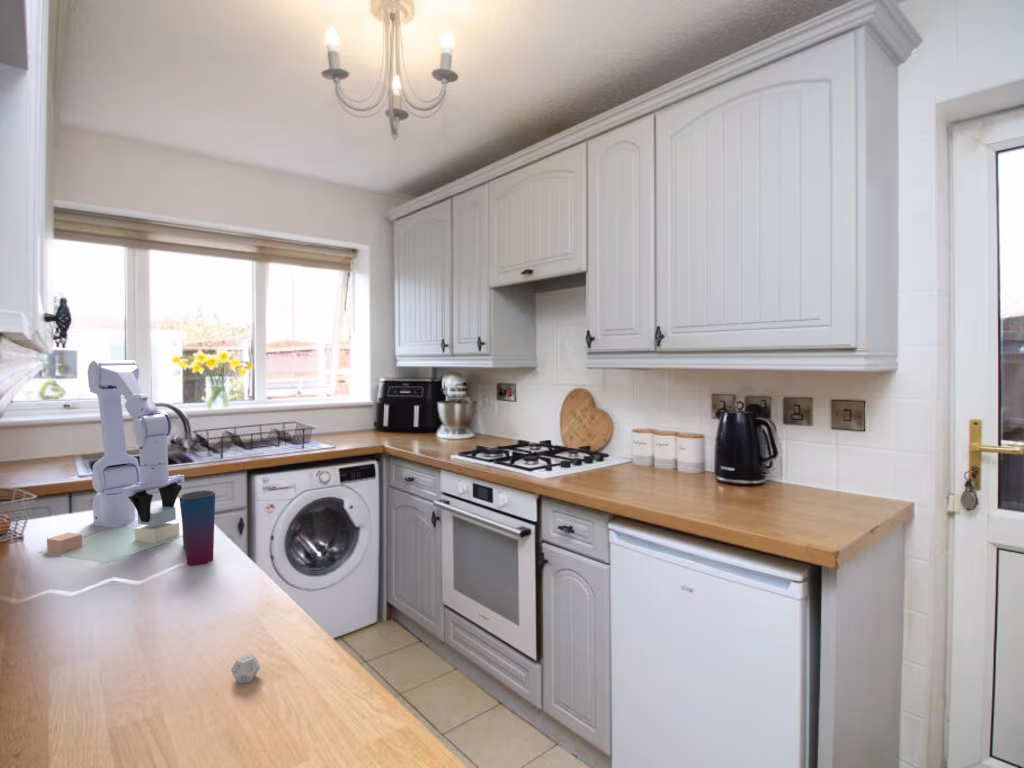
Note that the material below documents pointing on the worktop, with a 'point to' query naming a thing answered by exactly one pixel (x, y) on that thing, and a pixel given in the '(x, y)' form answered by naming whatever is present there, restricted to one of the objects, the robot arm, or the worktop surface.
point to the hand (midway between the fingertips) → (156, 518)
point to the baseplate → (110, 545)
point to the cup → (198, 525)
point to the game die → (245, 668)
